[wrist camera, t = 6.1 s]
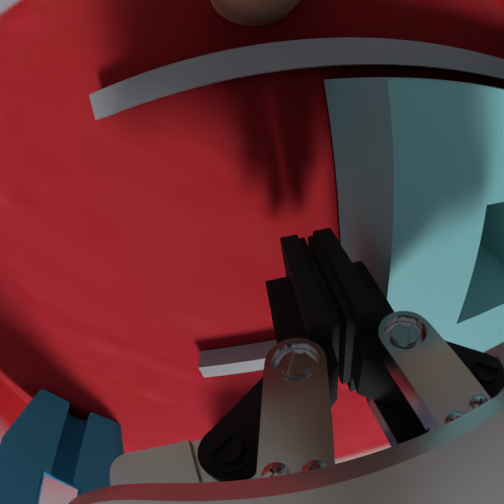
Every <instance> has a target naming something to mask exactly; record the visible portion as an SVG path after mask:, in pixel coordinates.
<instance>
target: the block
mask: <svg viewBox="0 0 504 504" xmlns="http://www.w3.org/2000/svg"><path fill="white" fill-rule="evenodd" d="M69 407H70V403H69V402H68V401H66V400H64V399H62V398H60V397H58V396H56V395H54V394H52V393H51V392H49V391H46V390H43V389H41V390H39V392H38V393H37V394H36V395H35V397H34V398H33V399H32V400H31V401H30V403H29V404H28V405H27V406H26V408H25V409H24V410H23V411H22V413H21V414H20V415H19V416H18V418H17V419H16V420H15V422H14V423H13V424H12V425H11V427H10V428H9V429H8V431H7V432H6V433H5V435H4V436H3V437H2V441H1V444H0V504H39V500H40V495H41V490H42V485H43V480H44V476H47V477H49V478H51V479H54V480H56V481H58V482H61V483H63V484H65V485H68V486H70V487H73V488H75V489H78V494H77V496H79V495H81V494H84V493H86V492H88V491H92V490H95V489H98V488H102V487H108V486H111V485H110V467H111V465H112V463H113V461H114V460H115V459H116V458H117V457H119V456H120V455H123V454H124V451H123V442H122V432H121V426H120V424H118V423H117V422H115V421H113V420H110V419H107V418H105V417H102V416H100V415H98V414H95V413H93V412H91V413H90V414H89V417H88V419H87V421H85V420H80V419H78V418H76V417H74V416H72V415H71V414H70V413H69Z"/></svg>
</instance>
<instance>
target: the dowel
mask: <svg viewBox="0 0 504 504" xmlns="http://www.w3.org/2000/svg"><path fill="white" fill-rule="evenodd" d="M210 1H211V4H212V6H213V7H214V9H215V10H216V11H217V12H218V13H219V14H220V15H221V16H222V17H224V18H225V19H227V20H229V21H231V22H233V23H236V24H239V25H244V26H265V25H269V24H273V23H275V22H278V21H280V20H281V19H283V18H285V17H286V16H287V15H288V14H289V13H290V12H291V11H292V10H293V9H294V7H295V6H296V5H297V4H298V2H299V1H300V0H210Z"/></svg>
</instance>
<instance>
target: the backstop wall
mask: <svg viewBox="0 0 504 504" xmlns="http://www.w3.org/2000/svg"><path fill="white" fill-rule="evenodd" d="M351 65H393V66H413V67H426V68H437V69H446V70H454V71H461V72H467V73H473V74H479V75H484V76H489V77H494V78H499V79H503V80H504V59H501V58H498V57H494V56H490V55H487V54H483V53H479V52H475V51H470V50H466V49H461V48H456V47H451V46H445V45H439V44H433V43H426V42H418V41H409V40H399V39H385V38H357V37H343V38H315V39H301V40H290V41H281V42H272V43H265V44H258V45H252V46H246V47H240V48H235V49H230V50H225V51H220V52H215V53H211V54H207V55H202V56H198V57H194V58H191V59H187V60H183V61H180V62H176V63H173V64H169V65H166V66H163V67H160V68H157V69H154V70H151V71H148V72H145V73H142V74H139V75H136V76H134V77H131V78H128V79H126V80H123V81H120V82H118V83H115V84H113V85H111V86H108V87H106V88H103V89H101V90H99V91H97V92H94V93H92V94H90V95H89V97H90V100H91V104H92V108H93V112H94V116H95V119H96V120H98V119H101V118H105V117H108V116H111V115H113V114H116V113H118V112H121V111H124V110H126V109H129V108H132V107H135V106H138V105H140V104H143V103H146V102H149V101H152V100H156V99H159V98H162V97H165V96H169V95H172V94H175V93H179V92H182V91H186V90H190V89H194V88H197V87H201V86H205V85H210V84H214V83H218V82H223V81H228V80H232V79H237V78H243V77H248V76H254V75H260V74H266V73H273V72H280V71H287V70H296V69H305V68H316V67H330V66H351ZM276 344H277V342H276V340H270V341H265V342H259V343H253V344H247V345H241V346H234V347H227V348H220V349H213V350H205V351H200V356H199V369H200V371H201V373H202V375H203V376H204V377H213V376H222V375H230V374H237V373H244V372H251V371H258V370H264V362H265V358H266V355H267V354H268V352H269V351H270V349H271V348H273V347H274V346H275V345H276ZM501 352H504V342H502V343H500V344H499V345H497V346H495V347H493V348H491V349H489V350H487V351H485V352H483V353H487V354H489V355H492V356H494V357H496V356H497V354H498V353H501Z"/></svg>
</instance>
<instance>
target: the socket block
mask: <svg viewBox="0 0 504 504" xmlns="http://www.w3.org/2000/svg"><path fill="white" fill-rule="evenodd" d="M324 85H325V92H326V98H327V105H328V111H329V119H330V126H331V134H332V142H333V151H334V160H335V170H336V181H337V193H338V207H339V223H340V244H341V246H342V247H343V249H344V250H345V252H346V253H347V255H348V257H349V258H350V260H351V262H352V263H353V262H357V261H362V262H363V263H364V265H365V266H366V268H367V269H368V271H369V272H370V274H371V275H372V277H373V278H374V280H375V281H376V283H377V285H378V286H379V288H380V289H381V291H382V293H383V294H384V296H385V297H386V299H387V301H388V302H389V304H390V305H391V307H392V309H393V310H394V312H398V311H410V312H415V313H417V314H419V315H421V316H422V317H424V318H425V319H426V320H427V321H428V322H429V323H430V324H431V325H432V327H433V328H434V329H435V330H436V331H437V332H438V333H439V335H440V336H441V337H442V338H443V339H444V340H445V341H448V342H451V343H455V344H458V345H461V346H464V347H467V348H470V349H474V350H477V351H480V352H485V351H487V350H489V349H491V348H493V347H495V346H497V345H499V344H500V343H502V342H504V89H503V88H498V87H493V86H487V85H481V84H474V83H467V82H459V81H451V80H440V79H427V78H407V77H359V78H339V79H325V80H324Z"/></svg>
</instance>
